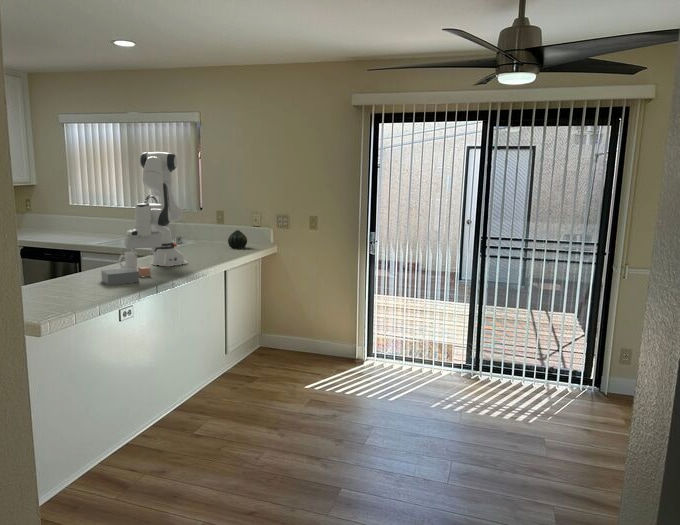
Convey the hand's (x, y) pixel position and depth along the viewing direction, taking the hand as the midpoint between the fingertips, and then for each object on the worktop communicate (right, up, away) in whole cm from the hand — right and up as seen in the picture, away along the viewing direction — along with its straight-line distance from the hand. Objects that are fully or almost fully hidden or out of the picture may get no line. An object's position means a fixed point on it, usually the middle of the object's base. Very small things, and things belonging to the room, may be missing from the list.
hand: (143, 255), depth 298 cm
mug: (-13, -10, +9) cm, 19 cm away
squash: (+31, +7, +116) cm, 121 cm away
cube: (-1, -12, +3) cm, 12 cm away
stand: (-7, -15, -14) cm, 22 cm away
